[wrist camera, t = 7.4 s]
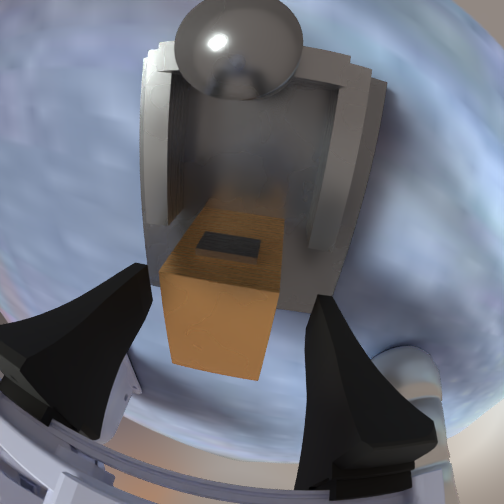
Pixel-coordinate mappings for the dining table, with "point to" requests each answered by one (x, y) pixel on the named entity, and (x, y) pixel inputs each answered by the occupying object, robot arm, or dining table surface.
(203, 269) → the block
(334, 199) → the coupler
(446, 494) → the plastic bottle
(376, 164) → the dining table surface
